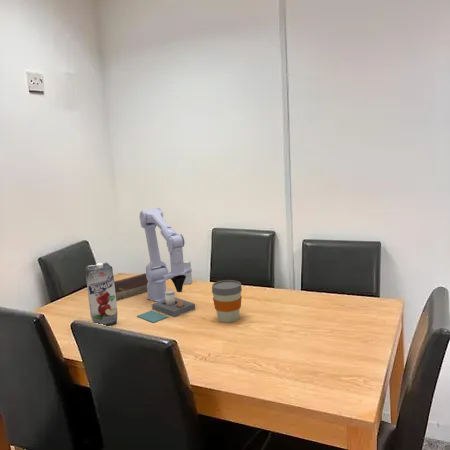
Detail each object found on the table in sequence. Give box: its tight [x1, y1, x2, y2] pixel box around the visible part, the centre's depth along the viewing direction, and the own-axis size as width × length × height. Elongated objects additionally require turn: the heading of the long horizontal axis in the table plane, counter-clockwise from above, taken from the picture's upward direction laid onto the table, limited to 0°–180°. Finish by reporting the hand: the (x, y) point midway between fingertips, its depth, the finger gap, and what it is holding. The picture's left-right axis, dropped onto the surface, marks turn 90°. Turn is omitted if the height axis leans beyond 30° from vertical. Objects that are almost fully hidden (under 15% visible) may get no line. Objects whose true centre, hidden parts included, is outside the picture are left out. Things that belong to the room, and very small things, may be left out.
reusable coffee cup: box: [211, 279, 243, 323], centre depth 197 cm, size 13×13×15 cm
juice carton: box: [85, 262, 118, 326], centre depth 198 cm, size 9×10×27 cm
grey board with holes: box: [151, 297, 196, 318], centre depth 213 cm, size 16×12×2 cm
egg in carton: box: [177, 301, 183, 308], centre depth 209 cm, size 2×2×4 cm
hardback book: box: [114, 272, 148, 302], centre depth 244 cm, size 29×19×5 cm, turn 130°
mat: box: [136, 309, 169, 324], centre depth 205 cm, size 12×8×1 cm, turn 46°
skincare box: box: [183, 260, 193, 285], centre depth 250 cm, size 6×4×12 cm
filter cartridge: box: [165, 289, 176, 306], centre depth 214 cm, size 4×4×8 cm
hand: (179, 291), depth 208 cm, fingers closed
